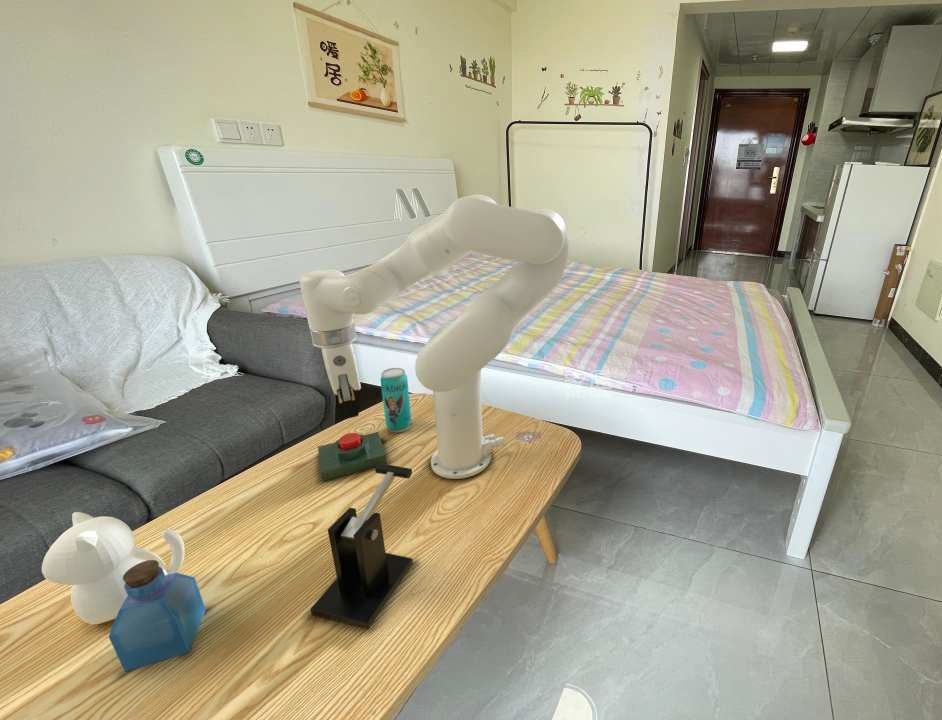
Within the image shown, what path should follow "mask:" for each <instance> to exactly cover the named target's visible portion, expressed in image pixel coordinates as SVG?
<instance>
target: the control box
mask: <svg viewBox="0 0 942 720" xmlns="http://www.w3.org/2000/svg"><path fill="white" fill-rule="evenodd" d="M358 434H359V433H358ZM359 435H360V439H361V444H360V446H358V447H356V448H354V449H350V450H342V449H341V448H340V445H339V439H337V440H335V441H334V442H331V443H327V444H323V445H318V446H317V452H318V461H319V471H320V478H321V481H322V482H326V481H329V480H334V479H336V478H340V477H343V476H347V475H350V474H353V473H357V472H361V471H364V470H368V469H371V468H376V466H377V465H378V464H379V463H382V464H387V463H388V461H387V455H386V451H385V448H384V444H383V442H382V440H381V436H380V434H379V431H376V432H371V433H367V434H361V433H360V434H359Z"/></svg>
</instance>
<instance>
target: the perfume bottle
mask: <svg viewBox="0 0 942 720" xmlns="http://www.w3.org/2000/svg"><path fill="white" fill-rule="evenodd" d="M123 580H124V581H125V585H124V588H125V590H126V593H127V595H128V596H127V598H126V600H125V601H124V603H123V605H122V606H121V608H120V610H119V612H118V614H117V617H116V618H115V619H114V622H113V625H112V627H111V630H110V632H109V634H108V639H109V641H110V643H111V645H112V647H113V649H114V651H115V654H116V656H117V658H118V661H119V663H120V664H121V667H122V669H123V671H124V672H129V671H132V670H135V669H138V668H141V667H144V666H148V665H151V664H152V665H153V664H155V663H158V662H162V661H165V660H167V659H172V658H174V657H178V656H181V655H185V654H188V653H190V650H191V648H192V645H193V643H194V641H195V638H196V635H197V633H198V630H199V629H200V627H201V623H202V621H203V619H204V616H205V613H206V611H207V609H206V605H205V603H204V600H203V597H202V595H201V592H200V589H199V586H198V582H197V580H196V578H195V576H191V575H188V574H183V573H179V572H177V573H173V574H169V575H165V574H164V571H163V569H162V568H161V567H159V563H158V561H156V560H147V561H144V562H141V563H139V564H137V565H135V566H133V567H132V568H130V569H129V570H128V571H127V572H126V573H125V574H124V576H123Z"/></svg>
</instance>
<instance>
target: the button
mask: <svg viewBox="0 0 942 720" xmlns="http://www.w3.org/2000/svg"><path fill="white" fill-rule="evenodd" d="M338 440H339V445H340V448H341V449H342V450H350V449H354V448H356V447H358V446H360V444H361V439H360V435H359V433H358V432H350V433H349V432H348V433H345V434H344V435H341V436H340V437H339V439H338Z"/></svg>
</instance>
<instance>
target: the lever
mask: <svg viewBox="0 0 942 720" xmlns="http://www.w3.org/2000/svg"><path fill="white" fill-rule="evenodd" d="M375 473H376V474H380V475H384V477H383V478H382V480H381V482H380V483H379V485H378V487H377V488H376V489H375V491H374V493H373V494H372V496H371V497H370V499H369V501H368V502H367V503H366V506H365V507H364V509H363V510H362V512H361V513H360V515H359V516H357V517H352V518H351V520H350V521H349V523H348V524H347V526H346V527H345V529H344V530H343V532H342V533H341V537H342V538H343V539H344V541H345V542H346V543H348V544H353V545H355V541H354V534H355V533H356V532H357V531H358V530H359V528H360V527H361V526H362V525H363V524H364V523H365V522H366V521H367V520H368V519H369V517H370V516H371V515H372V514H373V513H374V512H375V511H376V510H377V507H378V506H379V504H380V503H381V501H382V500H383V498H384V496H385V494H386V493H387V491H388V490H389V488H390V486H391V485H392V483H393V481H394V480H395V478H396V477H397V478H402V479H410V478H411V476H412V475H413V469H412V468H410V467H405V466H399V465H393V464H387V463H386V464H382V463H379V464H378V465H377V466H375Z"/></svg>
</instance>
